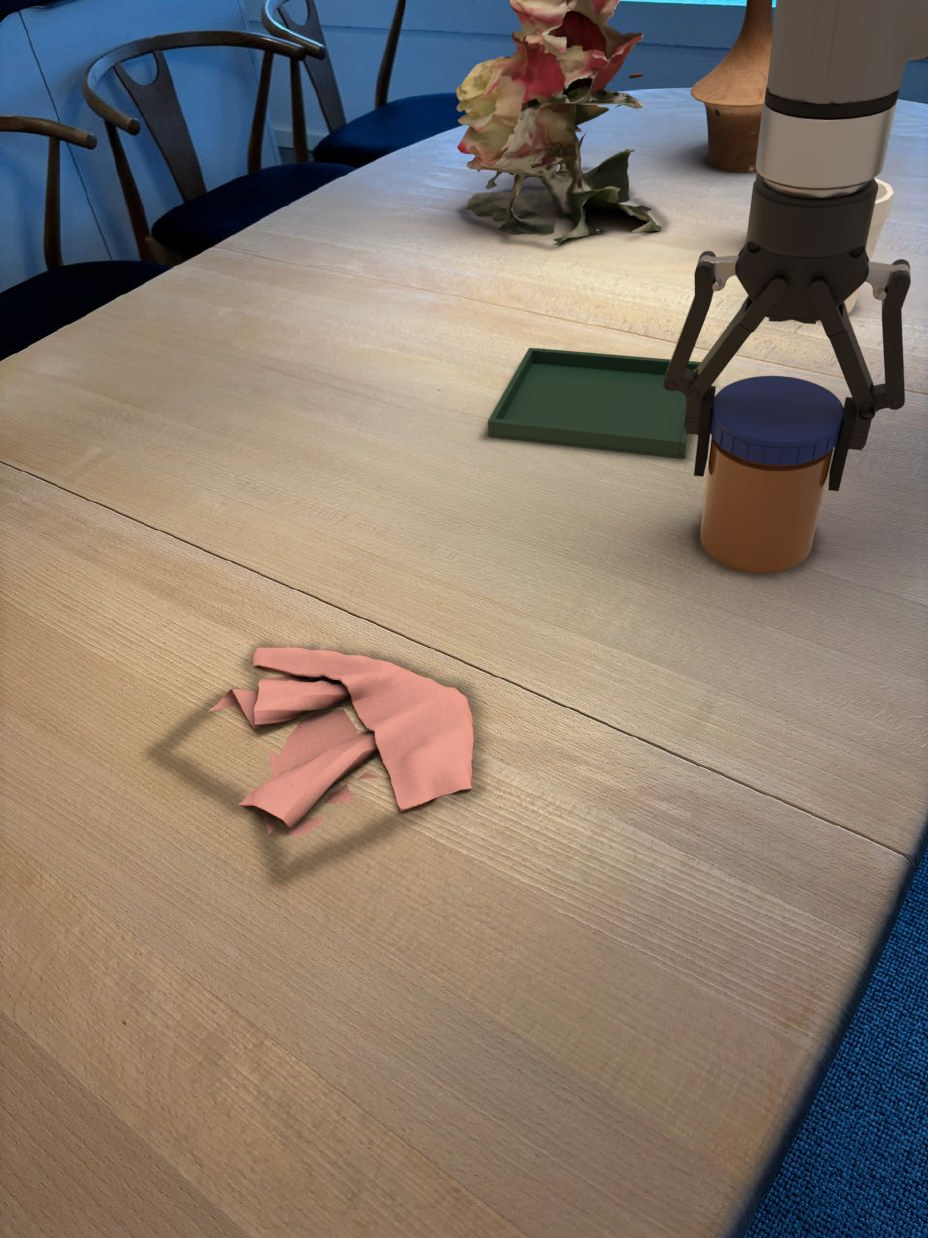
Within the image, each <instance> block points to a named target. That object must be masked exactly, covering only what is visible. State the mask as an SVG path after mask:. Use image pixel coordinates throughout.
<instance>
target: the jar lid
mask: <svg viewBox="0 0 928 1238" xmlns="http://www.w3.org/2000/svg"><path fill="white" fill-rule="evenodd" d="M843 418H844V404H843V403H842V401H841V400H840V398H839V397H838V396H836V394H834V393H833V392H832V391H830V390H829V389H828V388H826V387H824V386H822V385H820V384H818V383H815V382H812V381H810V380H806V379H803V378H797V377H792V376H786V375H785V376H783V375H760V376H759V375H758V376H751V377H746V378H742V379H739V380H736V381H734V382H732V383H729V384H727V385H726V386H724V387H722V388H721V389H720V390H719V391H718V392H717V393H715V398H714V400H713V405H712V413H711V419H710V427H709V429H710V432H711V434H710V436H711V437H712V438H713V439H714V440H715V442H716V443H717V444H718V445H719V446H720V447H721V448H723V449H724V450H725V451H727V452H729V453H730V454H732V455H734V456H737V457H739V458H742V459H744V460H748V461H751V462H756V463H761V464H768V465H794V464H801V463H806V462H810V461H813V460H816V459H818V458H821V457H823V456H824V455H827V454H828V453H829V452H830V451H831V450H832V449H833V450H834V448H835V447H836V444H837V443H838V440H839V436H840V431H841V427H842V422H843Z"/></svg>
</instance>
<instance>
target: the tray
mask: <svg viewBox="0 0 928 1238" xmlns="http://www.w3.org/2000/svg"><path fill="white" fill-rule="evenodd" d="M670 360H671V358H661V357H660V358H659V357H658V358H657V357H648V356H646V357H645V356H635V355H622V354H611V353H599V352H587V351H577V350H576V351H575V350H565V349H564V350H563V349H562V350H561V349H553V348H540V347H528V349H527V351H526V352H525V354H524V355H523V358H522V359H521V361H520V362H519V365H518V366H517V369H516V370H515V372H514V374H513V375H512V376H511V379H510V380H509V382H508V384H507V386H506V388H505V389H504V392H503V393H502V395H501V396H500V399H499V400H498V401H497V404H496V405H495V407H494V409H493V411H492V413H491V415H490V416H489V418H488V420H487V433H488V434H487V435H488V437H489V438H495V439H503V440H505V439H506V440H512V441H520V442H521V441H522V442H531V443H541V444H548V445H549V444H550V445H558V446H566V447H567V446H568V447H576V448H585V449H594V450H602V451H612V452H618V453H627V454H629V453H631V454H637V455H646V456H655V457H664V458H673V459H681V460H685V459H686V457H687V454H688V450H689V446H690V443H691V440H692V436H693V434H686V432H685V429H684V424H685V413H686V403H687V399H686V397H685V395H684V394H683V393H681V392H679V391H677V390H675V391H668V390H666V389H665V388H664V385H663V382H664V379H665V375H666V372H667V369H668V366H669V363H670ZM701 362H702V361H694V360H689V362H688V365H687V367H686V368H687V369H689V370H692V371H693V370H696V369H697V367H698V366H699V364H700V363H701Z"/></svg>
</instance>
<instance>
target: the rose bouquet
mask: <svg viewBox="0 0 928 1238" xmlns="http://www.w3.org/2000/svg"><path fill="white" fill-rule="evenodd" d="M619 3H620V0H509V5H510V7H511V9H512V10H513V11H514V13H515V14H516V16H517V19H518V21H519V23H520V25H521V27H522V30H520V31H519V30H518V31H517V30H516V31H515V30H514V31H513V32H512V33H511V35H510V36H511V38H512V40H513V43H514V44H515V46H516V51H514V52H513V54H512V55H511V56H498V57H497V58H496V59H489V60H485V61H483V62H480V63H477V64H475V65H474V67H473V68H472V70H470V71H469V73H468V75H466V77H465V78H464V80H463V82H462V83H461V84H459V86H457V88H456V89H455V93H456V98H457V99H458V100H459V103H458V104H457V106H456V110H457V112H460V113H462V112H463V111H465V113H466V114H464V115H462V116H461V117H460V118H458V119H457V122H458V123H459V124H460V125H462V126H468V128H467V129H466V131H465V133H464V135H463V136H462V139H461V140H460V141H459V143H458V145H457V146H456V148H457V150H458V152H459V153H462V154H464V155H473V156H474V157H473V158H472V159H471V160H470V161H468V162H466V166H465V167H467V168H468V169H470V170H476V172H477V173H479V172H481V171H494V172H496V173H495V175H494V176H493V177H491V178H490V179H489V180H488V182H487V184H486V185H485V189H486V190H492V189H495V188H496V187H497V186H498V183H496V179H497V178H498V177H499V176H500V175H501V174H503V173H507V174H509V175H510V176H514V178H513V186H512V191H511V190H510V191H503V192H493V191H492V192H491V191H490V192H488V191H487V192H477V193H475V194H473V195H472V196H471V197H469V199H468V200H467V204H466V208H465V209H464V211H470V212H471V213H472V214H474V215H475V216H476V217H478V218H488V217H492V218H493V219H492V221H493V222H496V223H500V222H503V223H502V224H500V225H499V226H496V229H497V231H498V232H500V233H501V232H502V233H504V234H508V235H511V236H521V235H530V236H531V235H537V236H541V237H543V236H550V235H553V234H554V233H555V227H556V223H557V222H556V220H555V219H553V218H550V217H547V216H545V215H544V213H543V211H542V210H541V208H540V207H542V205H544V204H545V203H546V202H549V201H550V200H553V202H554V204H555V205H556V207H557V208H558V212H559V214H560V215H559V216H558V218H559V219H568V220H570V221H574V222H573V225H574V228H573V230H571V231H570V232H568V233H565V234H562V236H560V237H556V238H553V239H552V240H553V241H554V242H556V244H558V246H560V245H561V244H562V242H564V241H566V240H567V239H575V238H584V237H591V236H599V235H603V234H605V232H606V231H605V228H602V229H599V228H597V227H592V226H589V225H588V224H587V222H586V214H585V213H587V210H586V209H585V208H584V204H585V205H586V206H589V207H590V208H593V209H599V210H600V209H603V210H607V211H623V212H625V213H626V214H627V215H629V216H630V217H633V216H634V217H636V218H637V219H639V220H642V221H646V224H643V225H642V226H639V227H637V228H636V229H634V230H632V231H631V232H632V233H640V232H651V231H657V232H662V229H663V228H662V226H661V225H658V224H656V223H657V222H655V220H654V219H653V218H652V217H651V216H650V215H649V212H650V211H652V210H653V209H652V208H651V207H648V206H645V205H643V204H641V205H636V206H635V205H630V204H623V203H628V202H629V201H630V200H631V197H630V195H629V192H630V178H629V174H628V173H629V172H628V170H629V158H630V155H631V153H634V152H635V151H636V150H635V149H629V148H626V149H624V150H623V151H620V150H619V151H618V152H616V153H615V154H613V155H612V156H610V157H608V158H606V159H604V161H601V163H599V164H598V165H597V166H595V167H594V168H592V169H590V170H589V171H587V172H584V171H583V170H582V156H581V147H582V144H583V142H584V138H585V136H586V134H587V131H586V132H585V133H584V134H583V135H582V136H581V138H580V139H579V137H578V135H577V134H576V133H581V134H582V133H583V132H582V128H580V127H579V126H580V125H582V124H585V123H587V122H590V121H592V120H594V119H597V118H598V117H600V116H601V115H603V114H605V113H607V112H609V111H610V108H609V107H606V105H616V106H615V107H614V109H615V108H618V107H622V106H626V107H629V108H631V109H634V110H642V109H643V108H644V103H642V102H641V101H640V100H639V99H637V98H636V97H634V96H632V95H630V94H629V92H619V91H614V90H608V89H606V88H607V85H608V84H609V83H610V82H611V81H613V82H614V77H615V76H616V75H617V74H618V72H619V71H620V70H621V69H622V67H623V64H624V63H625V60H626V58H627V56H628V55H629V54H631V53H632V51H633V49H634V48H635V46H636V45H637V43H642V41H643V38H644V33H643V32H627V33H623V34H622V33H621V32H620V31H618V30H617V29H614V28H615V27H614V26H613V25H610V23H608V22H610V21H609V20H610V19H611V18H613V17H614V15H615V10H617V9H616V8H617V7H618V6H617V5H618V4H619ZM642 77H644V73H641V72H636V73H633V74H629V75H628V79H631V80H632V79H638V78H642ZM691 117H692V115H689V119H691ZM558 167H559V169H558ZM528 178H536V179H538V180H539V181H540V182H541V184H542V185H543V186H544V187H545V189H544V188H542V190H540V191H538V192H535V193H522V192H520V191H521V189H522V187H523V185H524V182H525V180H526V179H528ZM516 215H519V216H516Z"/></svg>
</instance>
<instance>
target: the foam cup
mask: <svg viewBox="0 0 928 1238" xmlns="http://www.w3.org/2000/svg"><path fill="white" fill-rule="evenodd" d="M874 179H875V181H876V182H877V184H878V192H877V197H876V201H875V206H874V211H873V216H872V220H871V225H870V230H869V234H868V239H867V244H866V253H867V256H868V258H869V262H872V257H873V254H874V252H875V250H876V247H877V243H878V242H879V238H880V236H881V232H882V230H883V227H884V225H885V222H886V220H887V219H888V218H889V216H890V212H891V208H892V203H893V199H894V193H895V192H894V190H893V187H892V185H891V184H889V183H887V182H885V181H883V180H881V179H879V178H876V177H875V178H874ZM861 288H862V285H861V286H860V287H859V288H858V289H857V290H856V291H855V292H854V293H853V294H852V295H851V296H849V297H848V298H847V299H846V300H845V301H844V303H845V305H846V309H847V313H848V315H849V314H850V313H851V312H852V311H853V309H854V307H855V304H856V302H857V299H858V296H859V294H860V291H861Z"/></svg>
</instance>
